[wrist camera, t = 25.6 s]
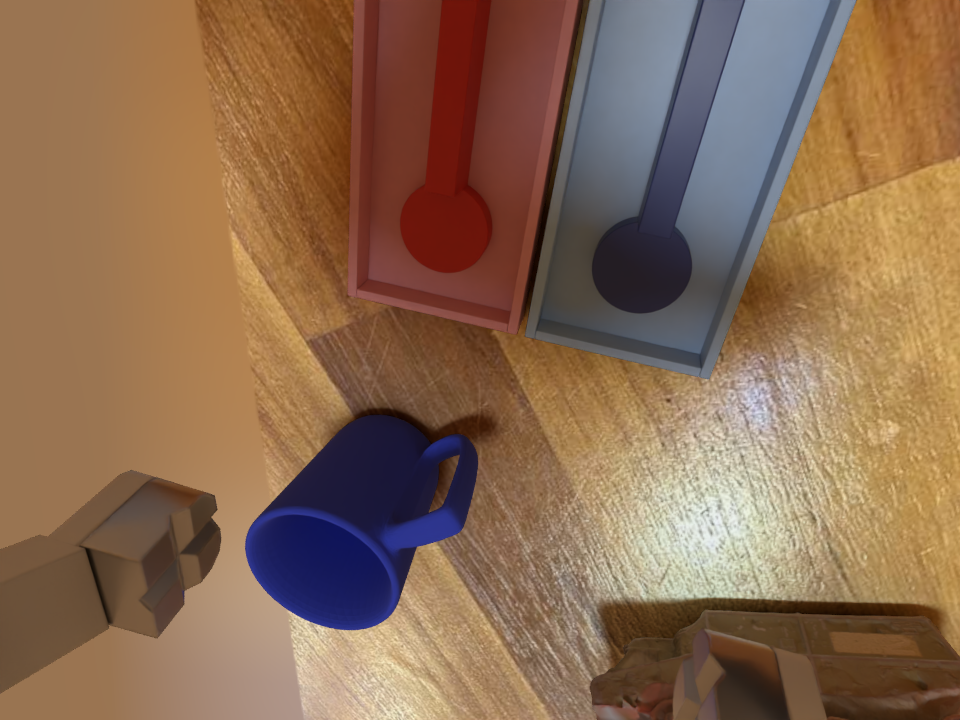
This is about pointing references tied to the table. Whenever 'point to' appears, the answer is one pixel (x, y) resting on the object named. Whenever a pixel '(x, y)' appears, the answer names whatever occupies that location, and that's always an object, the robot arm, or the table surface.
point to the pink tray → (494, 161)
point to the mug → (358, 521)
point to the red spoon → (452, 149)
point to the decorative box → (829, 647)
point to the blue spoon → (668, 177)
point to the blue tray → (714, 179)
